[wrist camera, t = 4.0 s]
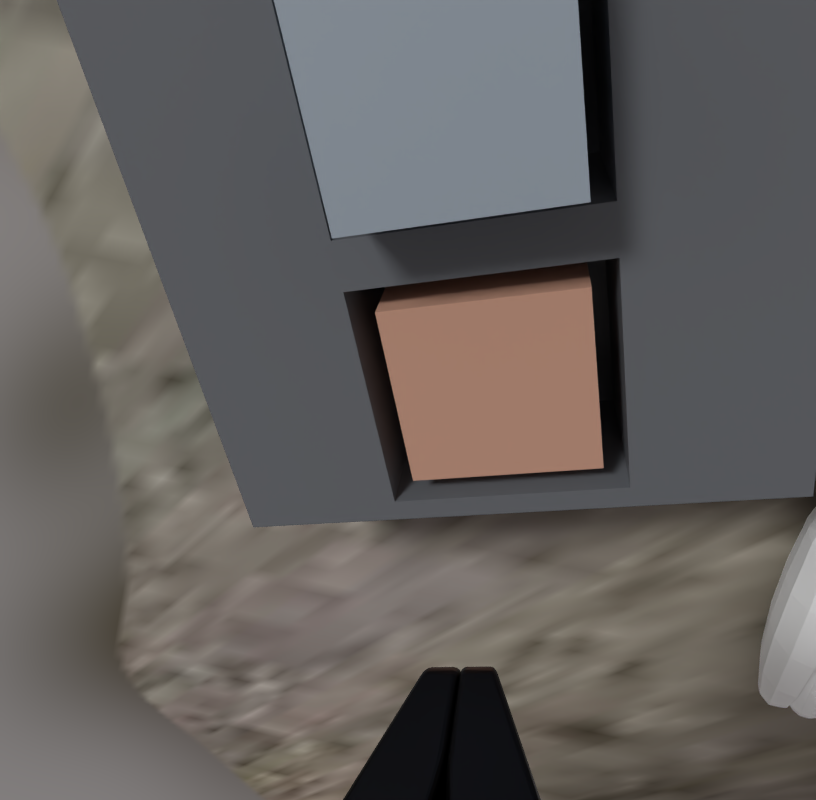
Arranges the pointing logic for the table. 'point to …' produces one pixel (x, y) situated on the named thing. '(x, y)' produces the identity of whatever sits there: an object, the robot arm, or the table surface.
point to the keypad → (487, 257)
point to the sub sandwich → (792, 631)
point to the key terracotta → (495, 372)
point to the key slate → (439, 107)
